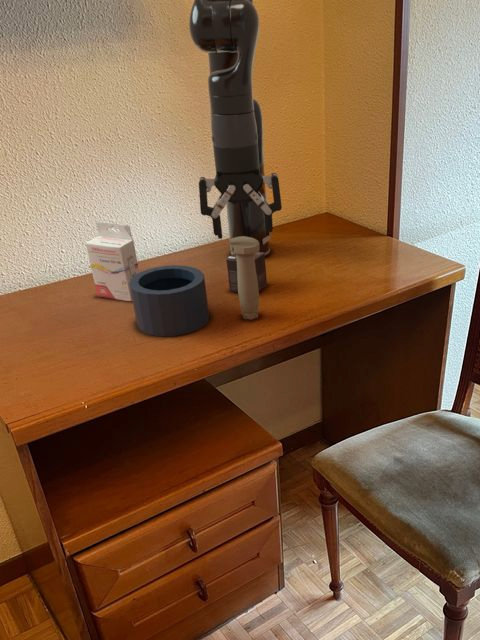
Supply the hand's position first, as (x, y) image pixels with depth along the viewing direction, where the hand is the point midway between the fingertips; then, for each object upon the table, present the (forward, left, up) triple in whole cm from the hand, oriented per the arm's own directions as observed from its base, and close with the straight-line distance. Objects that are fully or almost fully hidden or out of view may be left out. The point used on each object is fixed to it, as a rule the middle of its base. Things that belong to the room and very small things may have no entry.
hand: (243, 235), depth 120 cm
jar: (-1, -15, -16) cm, 22 cm away
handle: (0, 0, -16) cm, 16 cm away
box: (-14, 0, -16) cm, 22 cm away
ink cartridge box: (-15, -27, -16) cm, 35 cm away
